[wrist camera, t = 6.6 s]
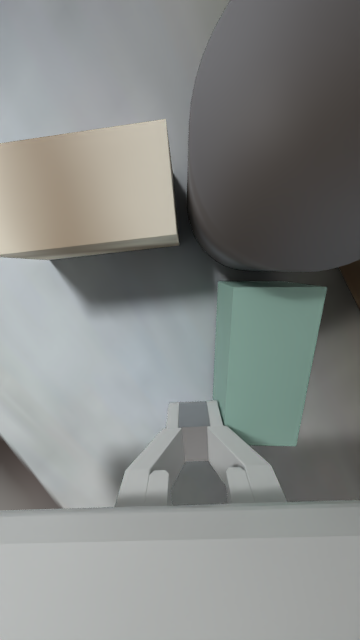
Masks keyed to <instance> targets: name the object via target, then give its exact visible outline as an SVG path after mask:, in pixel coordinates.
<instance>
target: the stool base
mask: <svg viewBox="0 0 360 640" xmlns="http://www.w3.org/2000/svg"><path fill="white" fill-rule="evenodd" d="M187 211H188V218H189V222H190V226H191V229H192V231H193V234H194V236H195V238H196V239H197V241H198V243H199V244H200V246H201V247H202V248H203V250H204V251H205V252H206V253H207V254H208V255H209V256H210V257H212V258H213V259H214V260H215V261H217V262H219V263H221V264H222V265H225V266H227V267H230V268H233V269H238V270H249V271H285V272H313V271H322V270H328V269H333V268H337V267H339V269H340V271H341V273H342V275H343V277H344V279H345V281H346V283H347V285H348V287H349V289H350V291H351V293H352V295H353V297H354V299H355V301H356V303H357V305H358V307H359V309H360V0H231V1H230V2H229V3H228V5H227V6H226V8H225V9H224V11H223V13H222V15H221V17H220V19H219V20H218V22H217V24H216V26H215V28H214V30H213V31H212V34H211V36H210V39H209V41H208V43H207V46H206V48H205V51H204V53H203V56H202V59H201V62H200V65H199V69H198V72H197V75H196V79H195V84H194V89H193V94H192V99H191V107H190V118H189V140H188V180H187ZM178 245H180V244H179V234H178V223H177V213H176V202H175V192H174V181H173V171H172V164H171V156H170V148H169V141H168V133H167V125H166V119H162V120H155V121H148V122H141V123H135V124H128V125H121V126H114V127H108V128H101V129H94V130H87V131H81V132H74V133H67V134H60V135H54V136H47V137H40V138H33V139H27V140H20V141H13V142H6V143H0V257H8V258H24V259H39V260H54V259H63V258H72V257H80V256H89V255H98V254H107V253H116V252H125V251H134V250H143V249H152V248H161V247H170V246H178Z"/></svg>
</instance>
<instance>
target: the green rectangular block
mask: <svg viewBox="0 0 360 640" xmlns="http://www.w3.org/2000/svg"><path fill="white" fill-rule="evenodd" d="M326 291H327V287H323V286H315V285H307V284H300V283H292V282H284V281H218V294H217V316H216V338H215V361H214V383H213V400H217V402H218V406H219V410H220V414H221V418H222V422H223V426H227V427H229V428H230V429H231V430H232V431H233V432H234V433H235V434H236V435H238V436H239V437H240V438H241V439H242V440H243V441H244V442H246V443H247V444H248V445H257V446H296V444H297V439H298V434H299V429H300V424H301V419H302V413H303V408H304V403H305V398H306V393H307V388H308V383H309V378H310V373H311V367H312V362H313V357H314V352H315V347H316V342H317V337H318V332H319V327H320V321H321V316H322V311H323V306H324V301H325V296H326Z"/></svg>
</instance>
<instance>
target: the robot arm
mask: <svg viewBox="0 0 360 640" xmlns="http://www.w3.org/2000/svg"><path fill="white" fill-rule="evenodd" d="M191 461H209V463H210V464H211V466H212V467H213V469H214V470H215V471H216V473H217V474H218V476H219V477H220V479H221V480H222V482H223V483H224V485H225V486H226V488H227V504H202V505H173V504H172V496H171V489H172V487H173V485H174V483H175V482H176V480H177V478H178V476H179V474H180V472H181V470H182V468H183V466H184V464H185V462H191ZM0 640H360V500H333V501H299V502H287V500H286V498H285V496H284V493H283V491H282V489H281V487H280V484H279V482H278V480H277V477H276V475H275V473H274V471H273V468H272V466H271V465H270V464H269V463H268V462H267V461H266V460H265V459H264V458H262V457H261V456H260V455H259V454H258V453H257V452H256V451H255V450H253V449H252V448H251V447H250V446H249V445H248V444H247V443H246V442H244V441H243V440H242V439H241V438H240V437H239V436H238V435H236V434H235V433H234V432H233V431H232V430H231V429H230V428H229V427H227V426H223V422H222V418H221V414H220V410H219V406H218V402H217V400H210V401H200V402H171V403H169V405H168V413H167V422H166V429H162V430H161V431H160V432H159V433H158V435H157V436H156V437H155V438H154V439H153V440H152V441H151V442H150V443H149V445H148V446H147V447H146V448H145V449H144V450H143V451H142V452H141V453H140V455H139V456H138V457H137V458H136V459H135V460H134V461H133V462H132V464H131V465H130V466H129V467H128V468H127V469H126V470H125V473H124V477H123V480H122V483H121V487H120V490H119V493H118V497H117V500H116V503H115V507H103V508H70V509H41V510H40V509H38V510H7V511H6V510H4V511H0Z"/></svg>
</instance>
